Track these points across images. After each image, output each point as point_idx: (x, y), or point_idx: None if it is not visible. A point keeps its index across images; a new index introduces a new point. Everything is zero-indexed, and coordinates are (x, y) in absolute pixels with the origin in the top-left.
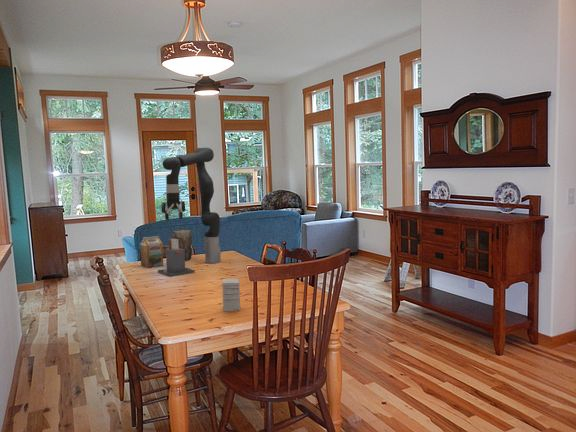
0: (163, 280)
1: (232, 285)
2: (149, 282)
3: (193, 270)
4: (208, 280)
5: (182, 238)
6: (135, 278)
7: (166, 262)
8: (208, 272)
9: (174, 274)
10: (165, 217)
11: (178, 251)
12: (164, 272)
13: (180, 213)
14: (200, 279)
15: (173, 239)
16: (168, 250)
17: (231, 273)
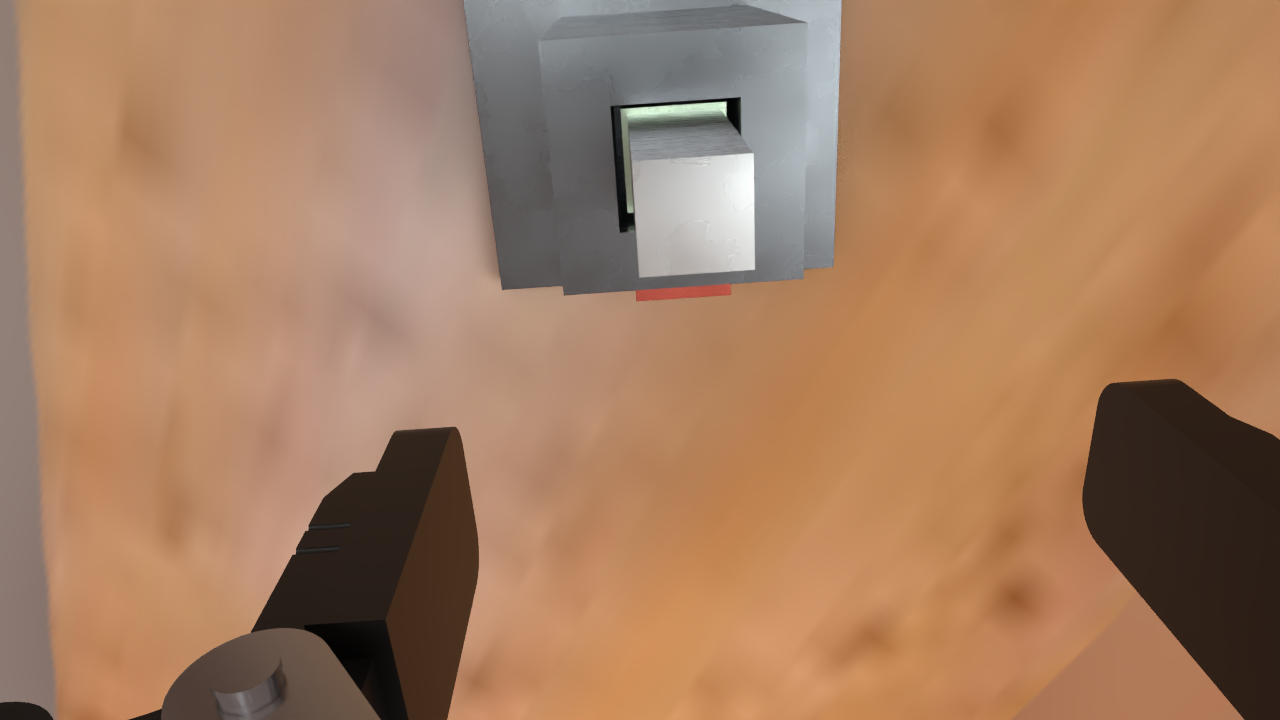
0: (386, 384)
1: None
2: (232, 375)
3: (816, 267)
4: (734, 631)
5: None
6: (115, 72)
7: (554, 24)
8: (941, 347)
9: (559, 281)
10: (322, 546)
11: (675, 294)
12: (483, 140)
13: (1241, 695)
14: (700, 562)
15: (681, 175)
16: (549, 151)
17: (1065, 530)
